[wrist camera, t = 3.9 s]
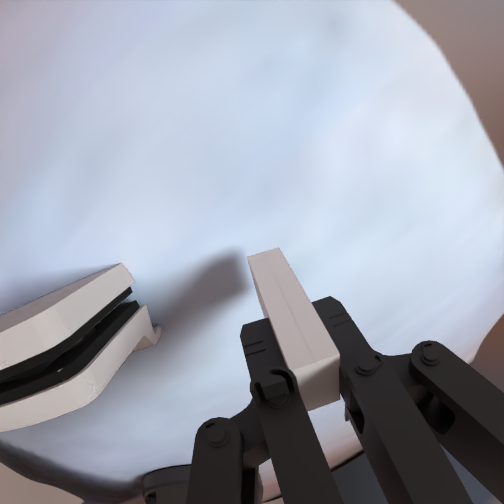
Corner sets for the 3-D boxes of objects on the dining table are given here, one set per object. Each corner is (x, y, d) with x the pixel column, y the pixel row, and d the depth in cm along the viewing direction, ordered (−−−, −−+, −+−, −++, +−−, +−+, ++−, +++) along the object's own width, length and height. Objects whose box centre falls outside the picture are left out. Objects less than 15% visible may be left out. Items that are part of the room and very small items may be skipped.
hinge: (-1, 378, 17) (-65, 446, 7) (-28, 327, 16) (-105, 380, 6) (168, 329, 17) (123, 452, 7) (134, 254, 16) (39, 322, 7)
